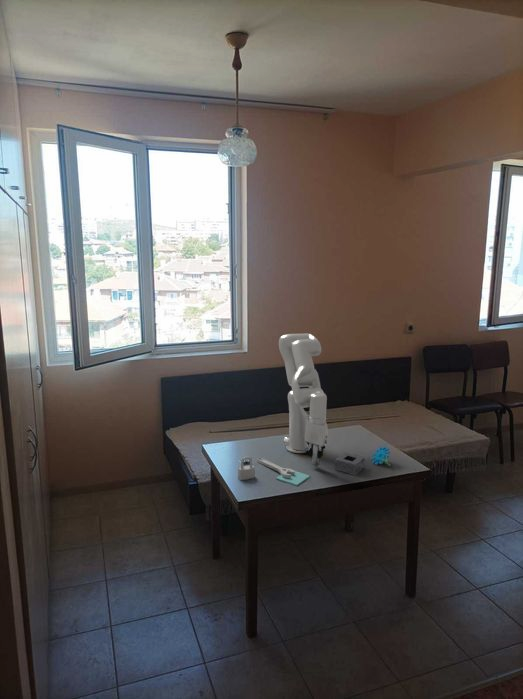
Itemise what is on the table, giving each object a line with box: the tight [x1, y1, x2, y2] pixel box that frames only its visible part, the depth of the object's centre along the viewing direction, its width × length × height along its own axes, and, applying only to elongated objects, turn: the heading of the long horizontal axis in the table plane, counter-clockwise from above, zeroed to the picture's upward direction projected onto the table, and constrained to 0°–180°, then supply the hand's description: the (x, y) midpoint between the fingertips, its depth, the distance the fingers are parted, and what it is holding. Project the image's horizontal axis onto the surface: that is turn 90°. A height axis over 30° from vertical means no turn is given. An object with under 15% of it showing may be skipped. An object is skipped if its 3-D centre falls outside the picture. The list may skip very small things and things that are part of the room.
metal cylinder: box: [311, 444, 321, 467], centre depth 229 cm, size 3×3×12 cm
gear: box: [371, 445, 391, 467], centre depth 237 cm, size 11×6×10 cm
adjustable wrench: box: [256, 457, 296, 478], centre depth 230 cm, size 25×6×2 cm, turn 33°
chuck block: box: [334, 452, 366, 476], centre depth 230 cm, size 10×10×5 cm
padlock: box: [237, 456, 256, 481], centre depth 220 cm, size 7×4×10 cm, turn 113°
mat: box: [275, 470, 311, 487], centre depth 221 cm, size 11×11×1 cm
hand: (316, 456), depth 230 cm, fingers closed on metal cylinder, 3 cm apart
